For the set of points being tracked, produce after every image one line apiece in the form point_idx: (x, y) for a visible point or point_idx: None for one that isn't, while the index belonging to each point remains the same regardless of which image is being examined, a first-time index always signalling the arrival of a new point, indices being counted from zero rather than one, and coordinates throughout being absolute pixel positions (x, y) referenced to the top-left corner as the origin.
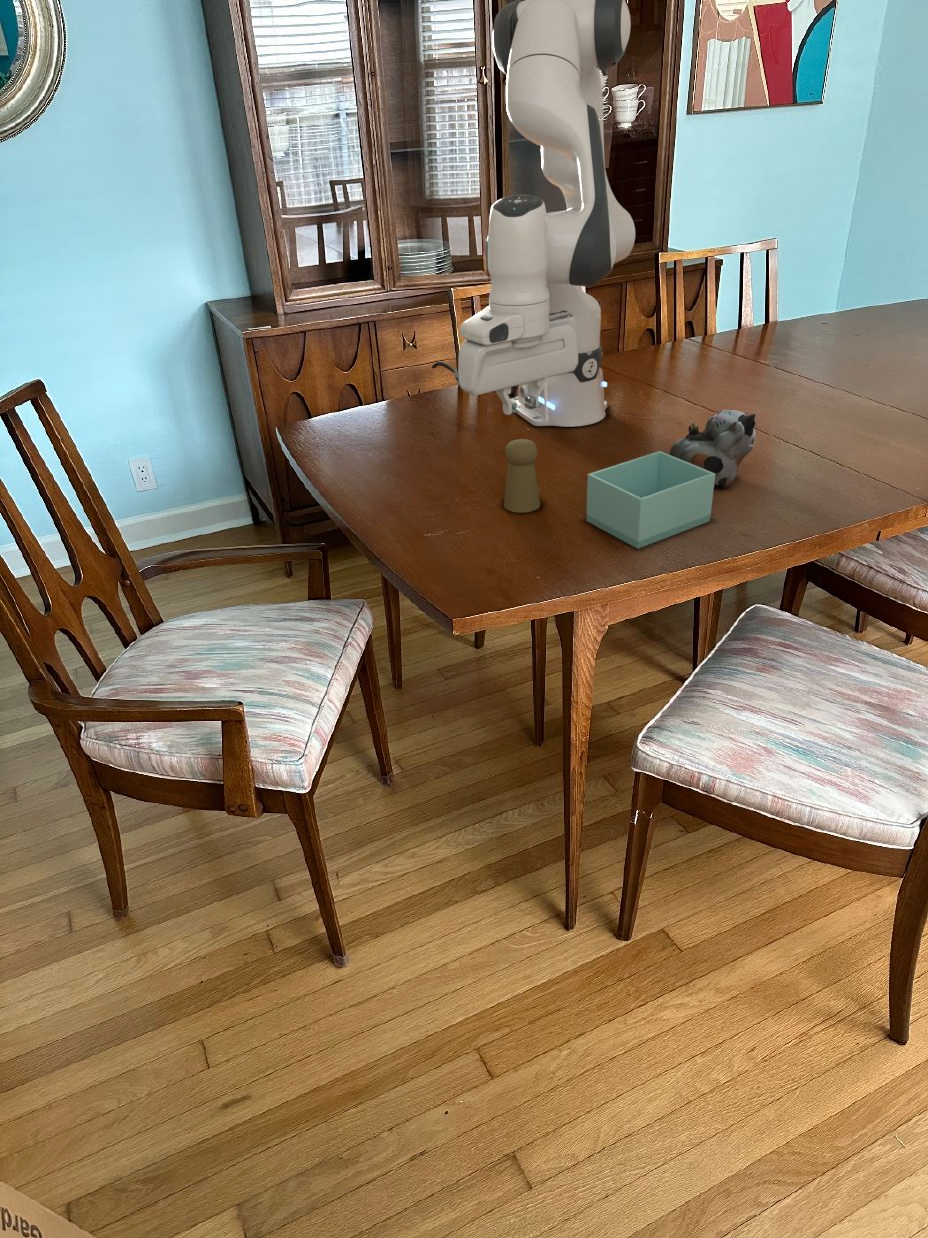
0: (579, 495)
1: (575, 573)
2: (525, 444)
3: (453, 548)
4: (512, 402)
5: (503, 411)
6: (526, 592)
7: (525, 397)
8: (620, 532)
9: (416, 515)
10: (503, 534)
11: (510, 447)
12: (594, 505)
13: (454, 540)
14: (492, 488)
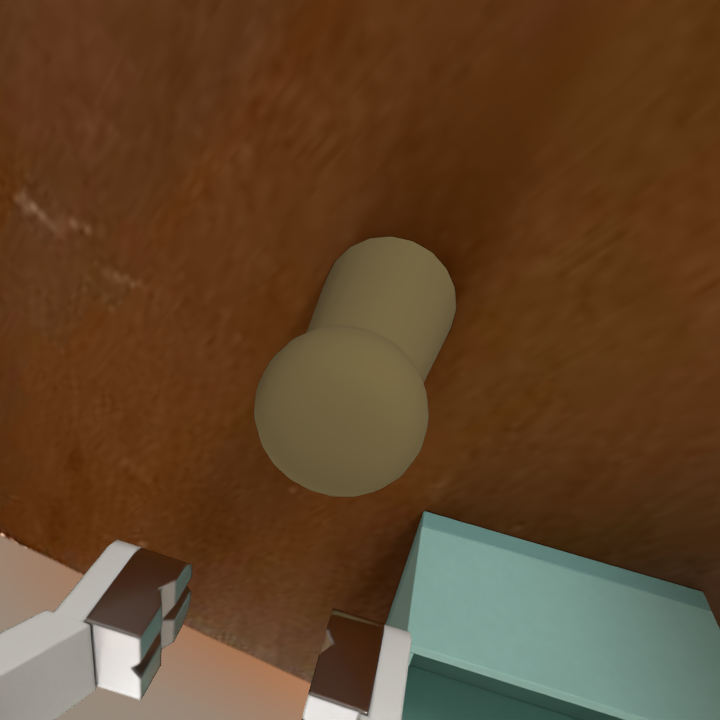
0: (579, 413)
1: (210, 588)
2: (319, 476)
3: (54, 325)
4: (115, 676)
5: (114, 546)
6: (92, 552)
7: (309, 693)
8: (389, 620)
9: (52, 38)
10: (205, 381)
11: (260, 416)
12: (408, 583)
13: (77, 295)
14: (435, 91)
